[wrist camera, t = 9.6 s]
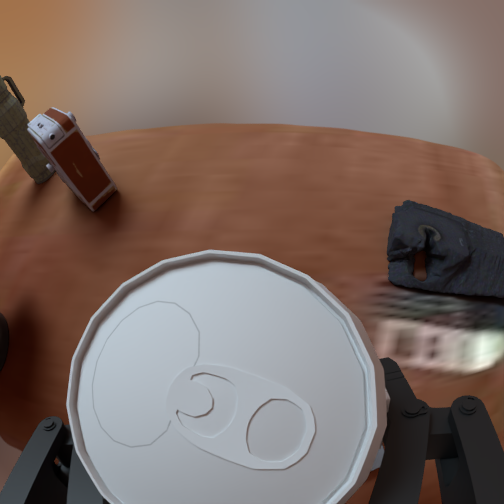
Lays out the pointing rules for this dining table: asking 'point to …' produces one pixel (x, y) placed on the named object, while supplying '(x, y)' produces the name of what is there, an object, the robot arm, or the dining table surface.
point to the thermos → (20, 133)
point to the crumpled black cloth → (445, 252)
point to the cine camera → (72, 156)
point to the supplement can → (226, 387)
